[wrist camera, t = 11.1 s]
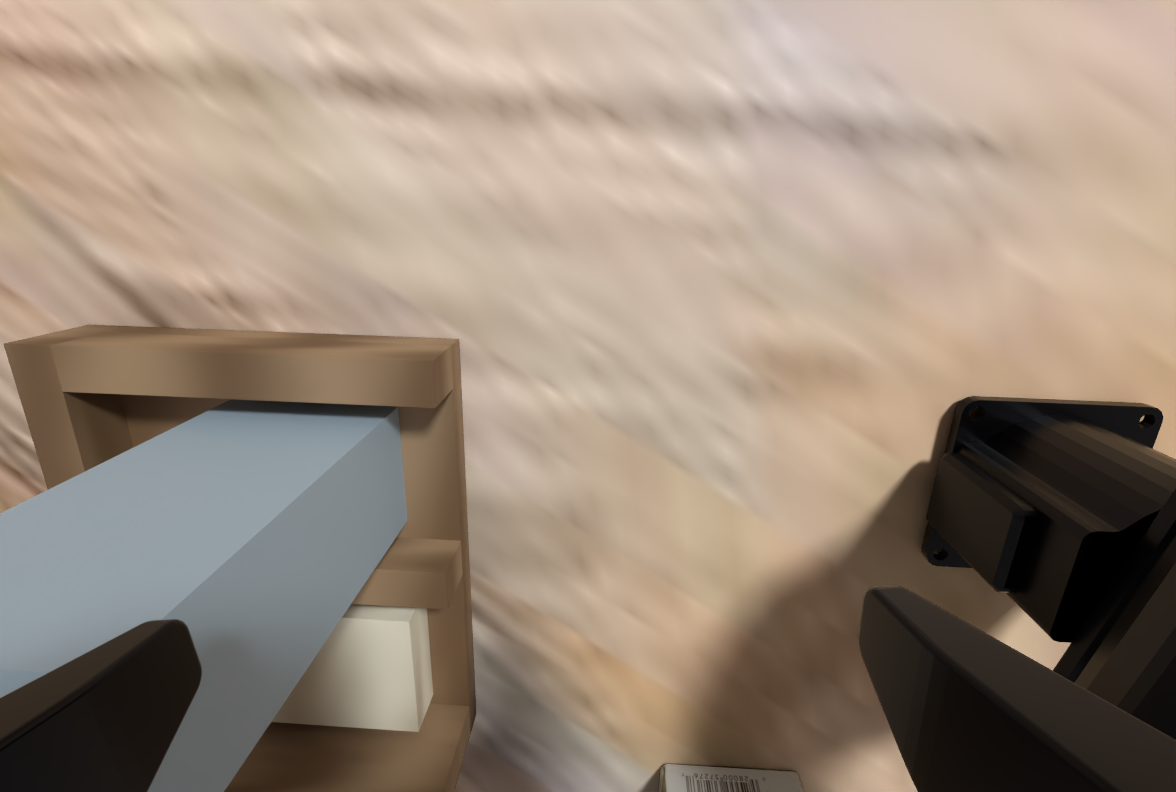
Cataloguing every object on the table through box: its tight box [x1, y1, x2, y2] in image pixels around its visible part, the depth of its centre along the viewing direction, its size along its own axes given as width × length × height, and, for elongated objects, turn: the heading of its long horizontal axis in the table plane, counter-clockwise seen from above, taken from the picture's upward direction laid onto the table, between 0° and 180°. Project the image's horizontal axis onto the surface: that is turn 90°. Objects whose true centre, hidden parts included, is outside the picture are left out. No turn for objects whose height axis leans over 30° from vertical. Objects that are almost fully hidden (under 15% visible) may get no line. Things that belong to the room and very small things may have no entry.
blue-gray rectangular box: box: [0, 400, 408, 792], centre depth 15 cm, size 6×4×12 cm
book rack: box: [4, 325, 476, 792], centre depth 18 cm, size 14×17×10 cm
